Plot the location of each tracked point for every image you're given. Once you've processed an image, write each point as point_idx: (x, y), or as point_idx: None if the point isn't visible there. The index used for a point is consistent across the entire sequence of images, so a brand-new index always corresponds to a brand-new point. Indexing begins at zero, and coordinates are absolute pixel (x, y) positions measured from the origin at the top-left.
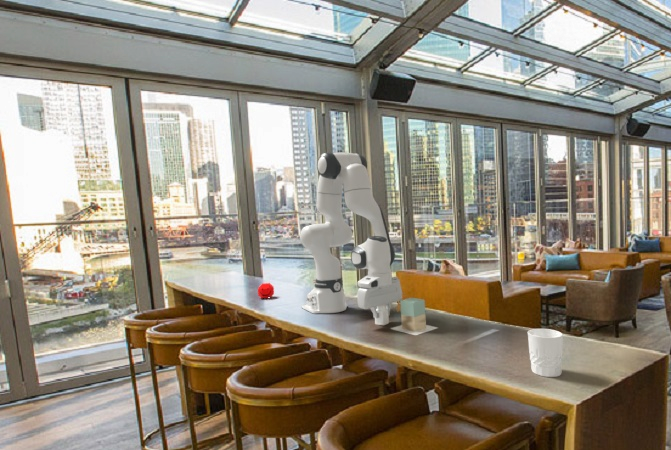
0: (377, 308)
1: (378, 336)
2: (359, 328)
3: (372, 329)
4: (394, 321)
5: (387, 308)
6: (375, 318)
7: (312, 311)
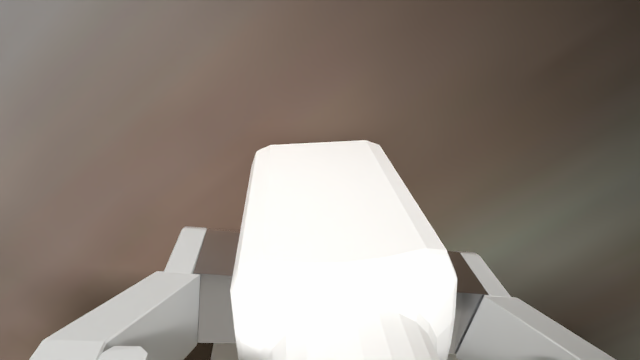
0: (277, 351)
1: (29, 352)
2: (44, 22)
3: (145, 188)
4: (537, 190)
5: (495, 356)
6: (245, 205)
7: None
